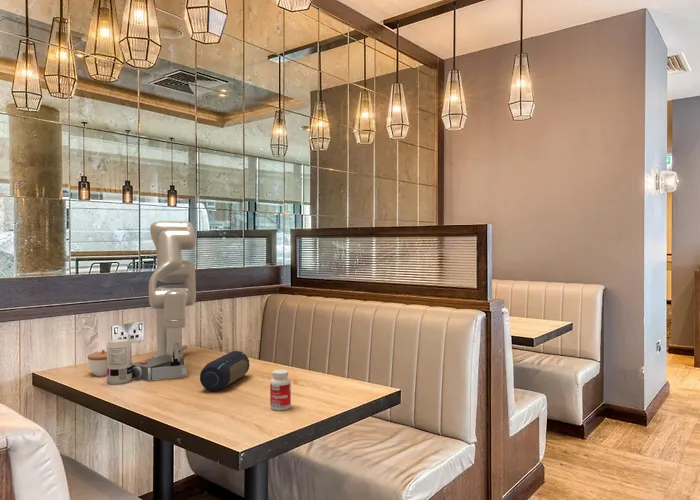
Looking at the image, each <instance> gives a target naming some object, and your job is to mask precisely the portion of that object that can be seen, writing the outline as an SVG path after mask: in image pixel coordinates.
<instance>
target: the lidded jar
mask: <svg viewBox="0 0 700 500" xmlns="http://www.w3.org/2000/svg"><path fill="white" fill-rule="evenodd" d="M87 365H88V369H89V371H90V372H91V373H92V374H93V375H94V376H95V377H105V376H106V377H107V350H106V351H105V349H101V351H96V352H93V353H90V354H88V355H87Z"/></svg>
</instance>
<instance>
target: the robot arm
mask: <svg viewBox="0 0 700 500" xmlns="http://www.w3.org/2000/svg"><path fill="white" fill-rule="evenodd" d="M149 229H150V230H149V232H150V237H151V239H152V241H153V244H154V248H155V250H156V269H155V270H154V272H152V274H151V276H150V277H149V278H150V279H149V281H148V301H149V305H150V307H151V308H152V309H153V310H154V309H155V316H156V319H155V320H156V353H155V354H154V355H152V358H155V357H159V356H163V355H169V356H171V361H172V362H171V366H179V365H180V361H179V357H184V353H183V351H184V350H187V349H188V345H186V344H185V345H183V329H185V328H186V307H191V306H194V305H195V303H196V299H197V294H196V293H197V292H196V291H197V290H196V285H197V283H196V282H197V280H196V268H195V264H194V263H193V261H191V260H183V259H182V251H185V250H186V251H189V250H192V251H193V250H194V249H195V248H196V244H197V238H196V237H197V236H196V232H195V228H194V226H193V224H192V223H191V222H190V221H182V220H181V221H174V220H173V221H172V220H168V221H167V220H165V221H164V220H163V221H159V220H158V221H154V222H153V223H151V224H150V228H149ZM158 282H161V283H184V284H177V285H176V284H174V285H173V284H171V285H170V284H169V285H160V286H158V287H157V283H158Z"/></svg>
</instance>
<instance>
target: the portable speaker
mask: <svg viewBox="0 0 700 500" xmlns="http://www.w3.org/2000/svg"><path fill="white" fill-rule="evenodd" d="M249 369H250V359H249V357H248V356H247V354H246V353H245V352H242V351H239V350H233V351H230V352H228V353H226V354H224V355H222V356H220V357H218V358H216V359H214V360H212V361H210V362H207V364H206V365H205V366H204V367H203V368H202V369H201V371H200V373H199V381H200V384H201V385H202V387H203V388H204V389H205V390H208V391H214V392H216V391H220V390H223V389H224V388H226V387H227V386H229V385H231V384H232V383H234V382H235V381H237V380H239V379H240V378H241V377H244V376H245V374H247V373H248V372H249Z"/></svg>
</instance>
